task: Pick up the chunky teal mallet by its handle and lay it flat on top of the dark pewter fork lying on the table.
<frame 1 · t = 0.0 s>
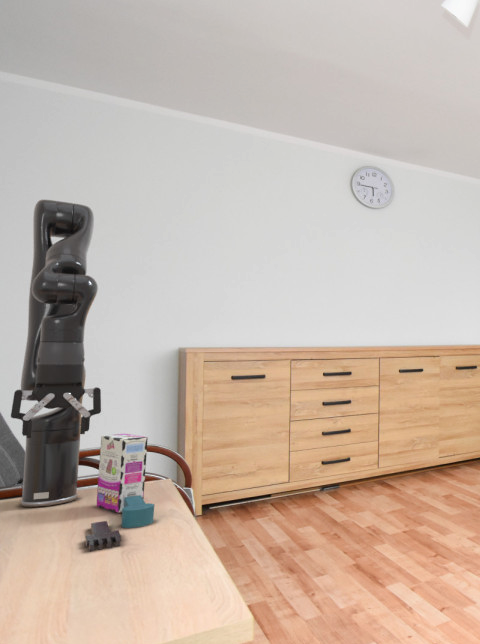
hand: (56, 435, 123), 17 cm above the table, tool pointing down, fingers open, 8 cm apart
candy bar box: (120, 508, 128), on the table
teal mallet: (135, 520, 120), on the table
fork: (101, 538, 108), on the table
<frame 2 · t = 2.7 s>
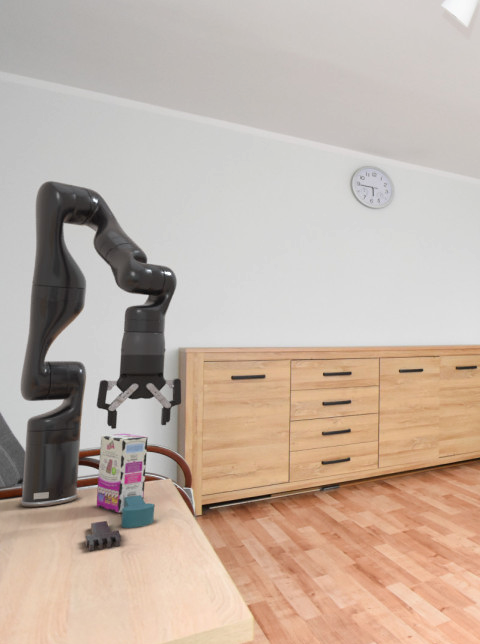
hand: (139, 426, 123), 20 cm above the table, tool pointing down, fingers open, 8 cm apart
nothing on the table moved.
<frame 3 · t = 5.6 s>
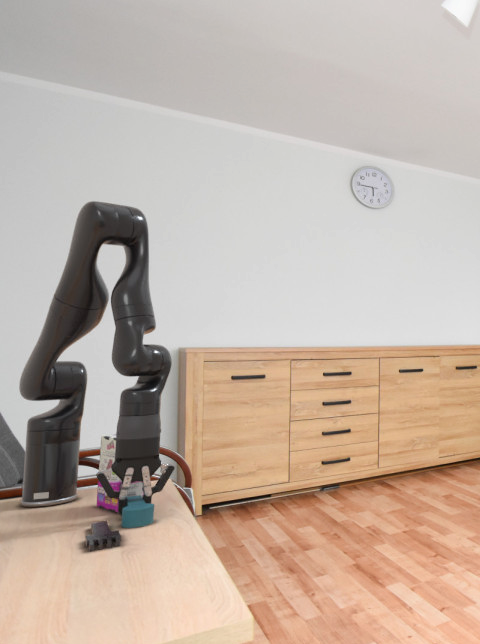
hand: (134, 514, 122), 1 cm above the table, tool pointing down, fingers closed on teal mallet, 3 cm apart
teal mallet: (135, 520, 120), on the table, touching gripper
everything else where it was.
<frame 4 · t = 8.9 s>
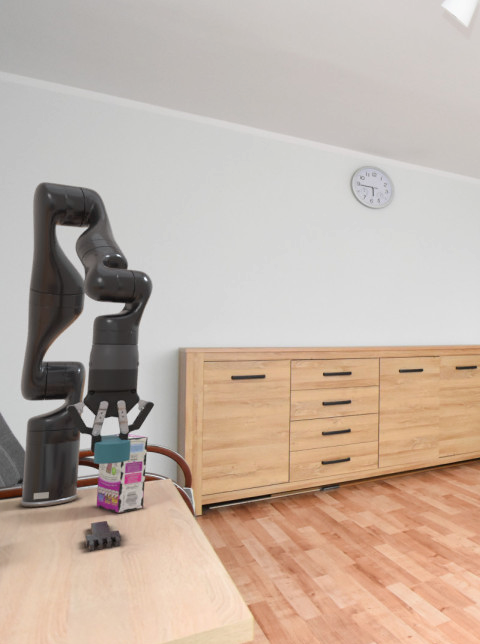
hand: (108, 453, 111), 16 cm above the table, tool pointing down, fingers closed on teal mallet, 2 cm apart
teal mallet: (110, 458, 109), point 15 cm above the table, touching gripper
everything else where it was.
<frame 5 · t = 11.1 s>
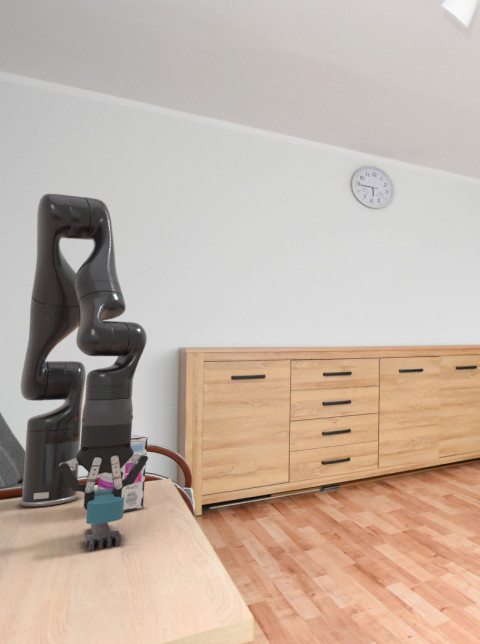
hand: (102, 509, 110), 5 cm above the table, tool pointing down, fingers closed on teal mallet, 2 cm apart
teal mallet: (103, 515, 108), point 5 cm above the table, touching gripper
everything else where it was.
when the fingers open (2 cm above the table, at t = 12.3 s): teal mallet stays where it is, resting on fork.
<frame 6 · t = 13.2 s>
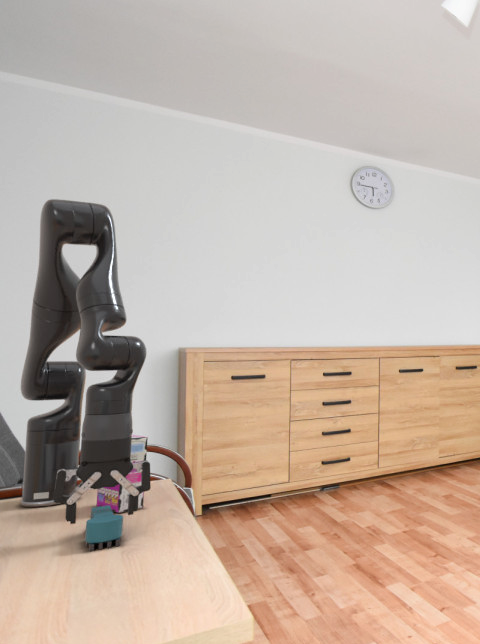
hand: (102, 518, 110), 3 cm above the table, tool pointing down, fingers open, 8 cm apart
teal mallet: (102, 533, 108), point 1 cm above the table, touching fork
everything else where it was.
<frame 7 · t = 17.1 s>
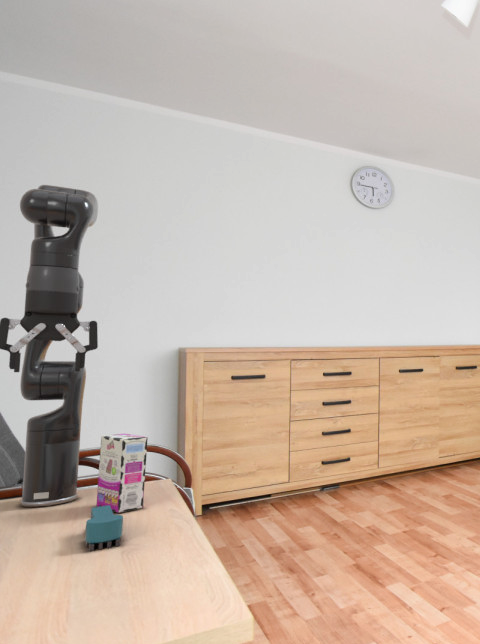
hand: (47, 371, 111), 32 cm above the table, tool pointing down, fingers open, 8 cm apart
nothing on the table moved.
at the end: teal mallet inside the target area on the fork (1.1 cm from its centre), point 1.2 cm above the fork's base; teal mallet touching fork; teal mallet tilted 0° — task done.
